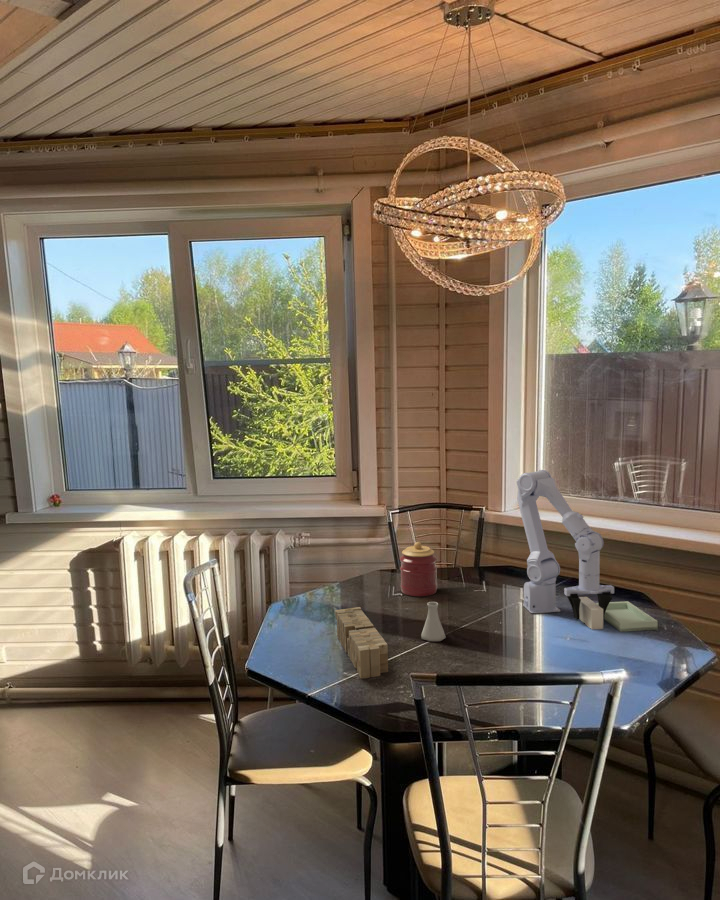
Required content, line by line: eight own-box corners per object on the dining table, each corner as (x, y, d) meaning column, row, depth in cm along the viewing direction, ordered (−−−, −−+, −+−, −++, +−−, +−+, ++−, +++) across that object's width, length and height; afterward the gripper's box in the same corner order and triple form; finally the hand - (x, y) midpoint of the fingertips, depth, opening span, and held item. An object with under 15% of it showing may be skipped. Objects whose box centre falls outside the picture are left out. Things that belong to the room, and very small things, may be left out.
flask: (448, 633, 183) (447, 600, 182) (443, 643, 176) (442, 608, 175) (424, 631, 185) (423, 598, 184) (418, 640, 179) (417, 606, 178)
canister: (402, 585, 229) (400, 537, 227) (437, 585, 227) (436, 537, 225) (399, 596, 216) (397, 546, 214) (437, 597, 214) (436, 546, 213)
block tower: (390, 678, 158) (361, 632, 186) (389, 646, 157) (361, 604, 185) (359, 682, 156) (335, 635, 185) (359, 650, 155) (335, 607, 183)
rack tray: (620, 631, 180) (620, 623, 180) (593, 611, 197) (594, 603, 197) (657, 629, 181) (657, 621, 181) (627, 608, 198) (627, 601, 198)
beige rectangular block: (591, 629, 183) (591, 609, 182) (575, 616, 194) (575, 597, 193) (603, 629, 183) (603, 609, 182) (586, 615, 194) (586, 596, 193)
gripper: (571, 578, 182) (571, 623, 184) (619, 575, 183) (618, 620, 185) (561, 571, 189) (561, 615, 191) (607, 568, 190) (607, 612, 192)
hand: (589, 617), depth 188 cm, fingers open, 7 cm apart
